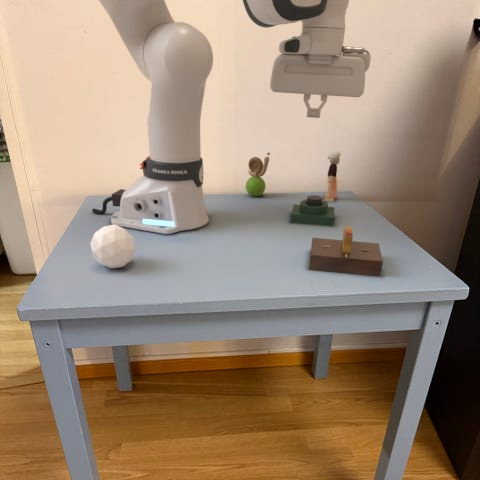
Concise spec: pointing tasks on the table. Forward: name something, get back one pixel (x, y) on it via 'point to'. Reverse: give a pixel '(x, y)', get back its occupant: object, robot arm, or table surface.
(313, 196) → the bell button
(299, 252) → the table surface
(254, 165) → the snail figurine
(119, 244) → the geometric ball
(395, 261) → the table surface
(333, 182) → the grandmother figurine
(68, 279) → the table surface
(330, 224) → the block
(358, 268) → the plate
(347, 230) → the lock turn
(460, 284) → the table surface
